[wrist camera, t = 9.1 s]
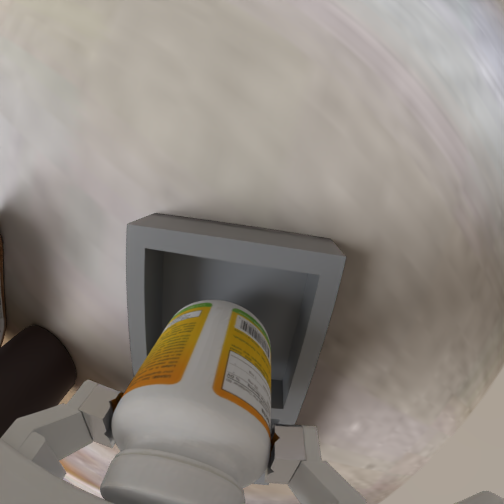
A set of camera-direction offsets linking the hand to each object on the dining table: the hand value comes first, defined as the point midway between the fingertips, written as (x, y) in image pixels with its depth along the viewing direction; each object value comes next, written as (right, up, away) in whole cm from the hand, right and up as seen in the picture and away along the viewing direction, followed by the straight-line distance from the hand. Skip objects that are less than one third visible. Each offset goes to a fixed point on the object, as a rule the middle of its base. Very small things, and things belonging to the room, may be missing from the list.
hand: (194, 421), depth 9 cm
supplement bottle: (0, +1, +6) cm, 6 cm away
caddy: (0, -2, +10) cm, 10 cm away
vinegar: (-16, -3, +11) cm, 20 cm away
